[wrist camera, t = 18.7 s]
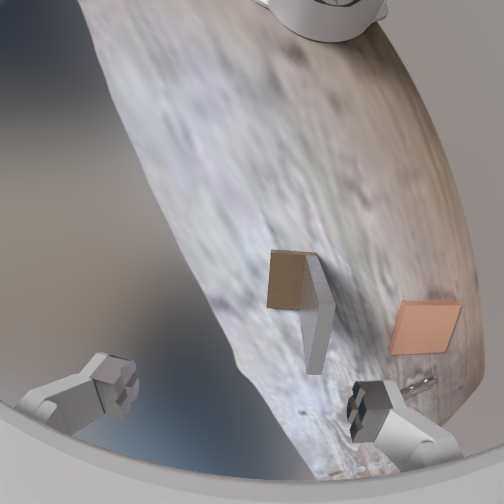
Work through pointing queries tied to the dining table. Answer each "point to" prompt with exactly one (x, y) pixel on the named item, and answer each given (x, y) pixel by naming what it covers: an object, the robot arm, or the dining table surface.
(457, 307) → the tile
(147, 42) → the dining table surface
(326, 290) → the bookend
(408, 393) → the micrometer
